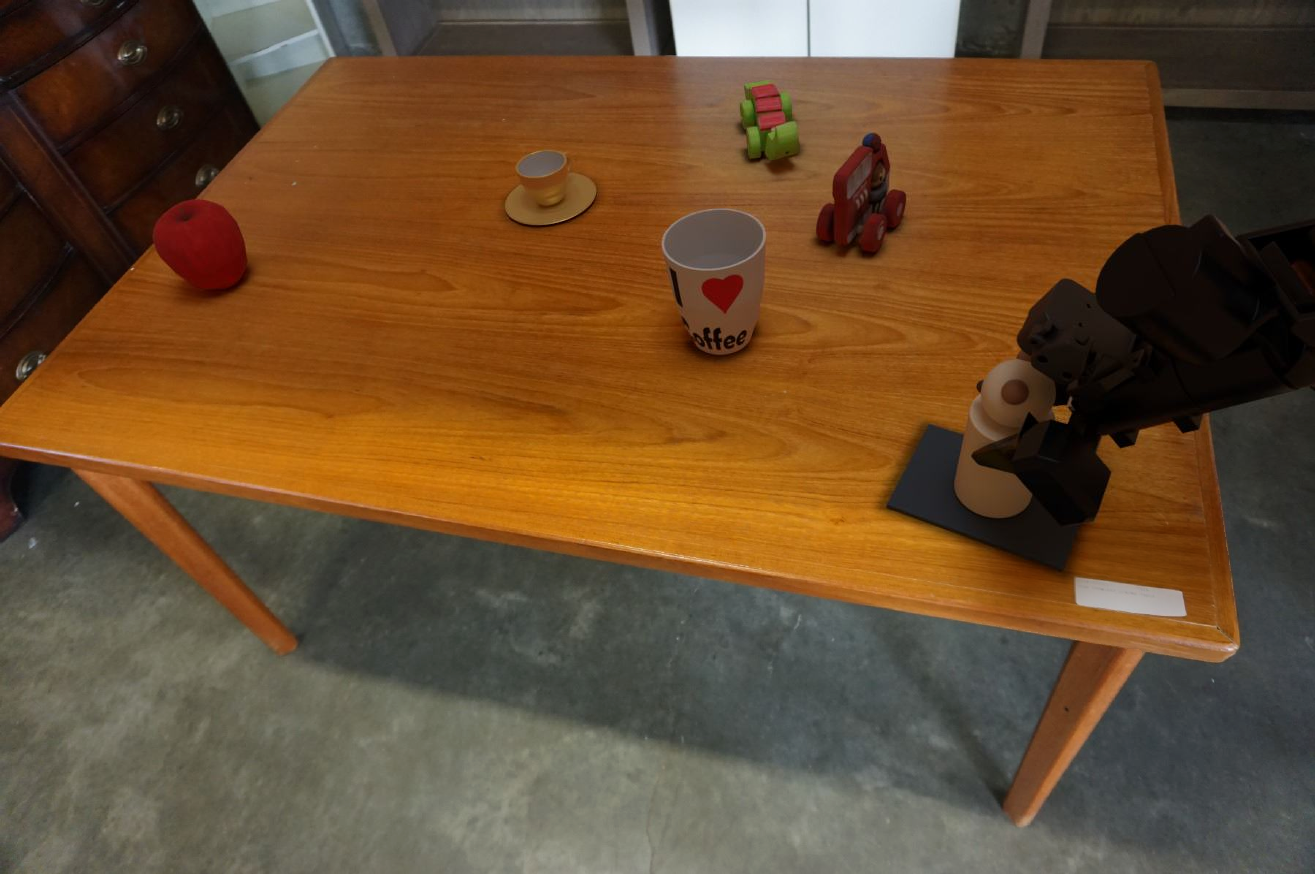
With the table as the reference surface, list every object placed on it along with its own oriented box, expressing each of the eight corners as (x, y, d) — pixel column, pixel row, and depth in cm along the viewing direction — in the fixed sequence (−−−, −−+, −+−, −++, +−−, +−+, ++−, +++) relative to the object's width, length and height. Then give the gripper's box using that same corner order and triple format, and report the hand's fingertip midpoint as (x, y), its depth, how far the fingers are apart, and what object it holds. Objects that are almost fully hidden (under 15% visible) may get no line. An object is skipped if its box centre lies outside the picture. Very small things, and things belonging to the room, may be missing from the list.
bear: (943, 502, 68) (967, 381, 58) (967, 452, 72) (994, 328, 61) (1019, 529, 66) (1058, 407, 56) (1040, 475, 69) (1081, 351, 59)
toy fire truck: (912, 207, 97) (921, 123, 89) (866, 268, 91) (871, 183, 83) (856, 194, 100) (860, 112, 92) (808, 252, 94) (808, 169, 86)
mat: (1095, 479, 69) (1096, 476, 68) (1062, 572, 64) (1063, 569, 63) (928, 426, 75) (928, 423, 75) (886, 507, 70) (886, 504, 69)
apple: (193, 268, 109) (144, 195, 100) (266, 249, 109) (223, 175, 101) (182, 314, 102) (129, 240, 94) (260, 294, 103) (214, 218, 95)
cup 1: (554, 237, 102) (544, 199, 98) (487, 212, 108) (474, 175, 104) (615, 188, 108) (608, 149, 104) (548, 166, 114) (539, 130, 110)
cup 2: (661, 356, 86) (644, 261, 77) (697, 297, 91) (685, 202, 82) (750, 375, 82) (744, 277, 73) (782, 313, 88) (780, 215, 79)
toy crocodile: (737, 106, 118) (734, 63, 114) (784, 99, 118) (783, 56, 113) (753, 180, 105) (751, 136, 100) (806, 173, 104) (806, 127, 100)
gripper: (1156, 189, 55) (964, 283, 68) (1083, 372, 45) (875, 441, 58) (1248, 311, 57) (1045, 380, 70) (1197, 510, 47) (973, 547, 60)
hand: (988, 430), depth 64 cm, fingers closed on bear, 6 cm apart
